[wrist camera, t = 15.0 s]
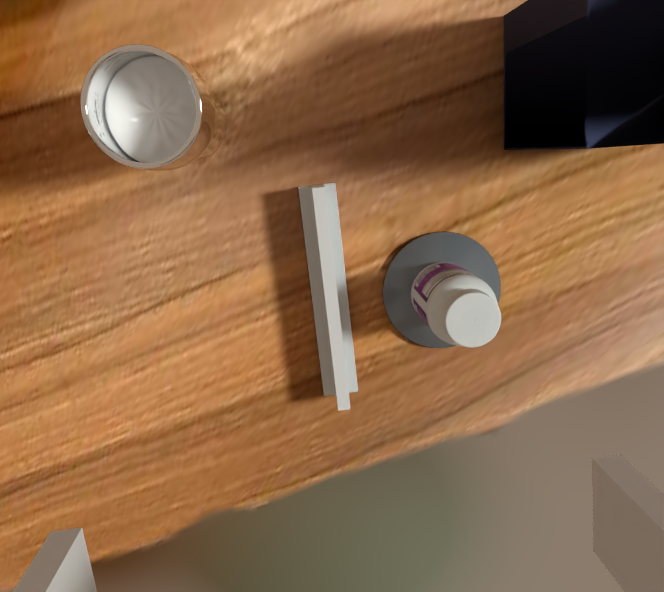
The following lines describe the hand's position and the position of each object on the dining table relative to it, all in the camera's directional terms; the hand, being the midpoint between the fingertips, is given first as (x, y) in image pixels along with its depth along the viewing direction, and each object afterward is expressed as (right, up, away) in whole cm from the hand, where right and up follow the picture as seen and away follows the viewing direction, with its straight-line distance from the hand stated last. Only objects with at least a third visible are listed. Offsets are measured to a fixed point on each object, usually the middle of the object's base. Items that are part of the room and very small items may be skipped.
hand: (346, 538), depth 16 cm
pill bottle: (+9, +7, +36) cm, 38 cm away
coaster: (+9, +7, +37) cm, 38 cm away
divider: (-1, +7, +36) cm, 37 cm away
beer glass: (-12, +20, +33) cm, 40 cm away
